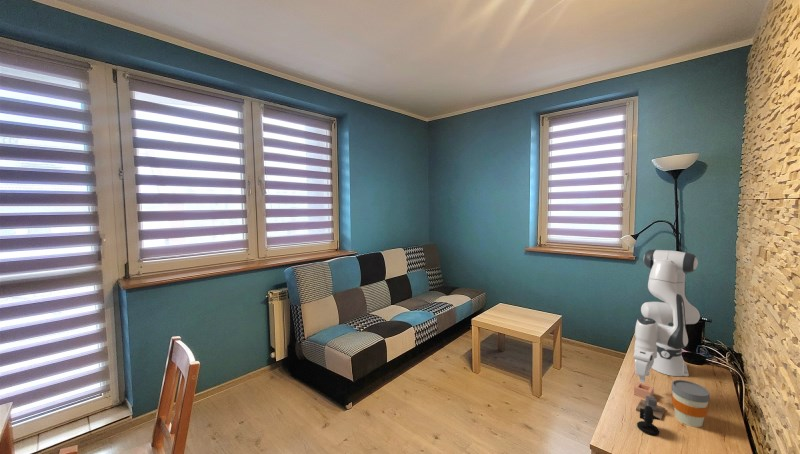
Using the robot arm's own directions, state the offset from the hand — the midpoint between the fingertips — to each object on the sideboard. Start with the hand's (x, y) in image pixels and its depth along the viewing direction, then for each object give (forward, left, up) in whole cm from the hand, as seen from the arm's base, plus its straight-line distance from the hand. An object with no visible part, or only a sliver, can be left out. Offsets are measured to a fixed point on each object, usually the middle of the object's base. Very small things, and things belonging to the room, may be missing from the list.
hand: (644, 378), depth 156 cm
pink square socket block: (-1, 0, -9) cm, 9 cm away
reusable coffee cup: (+7, +17, -9) cm, 21 cm away
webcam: (+27, +7, -9) cm, 30 cm away
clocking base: (+11, +5, -9) cm, 15 cm away
